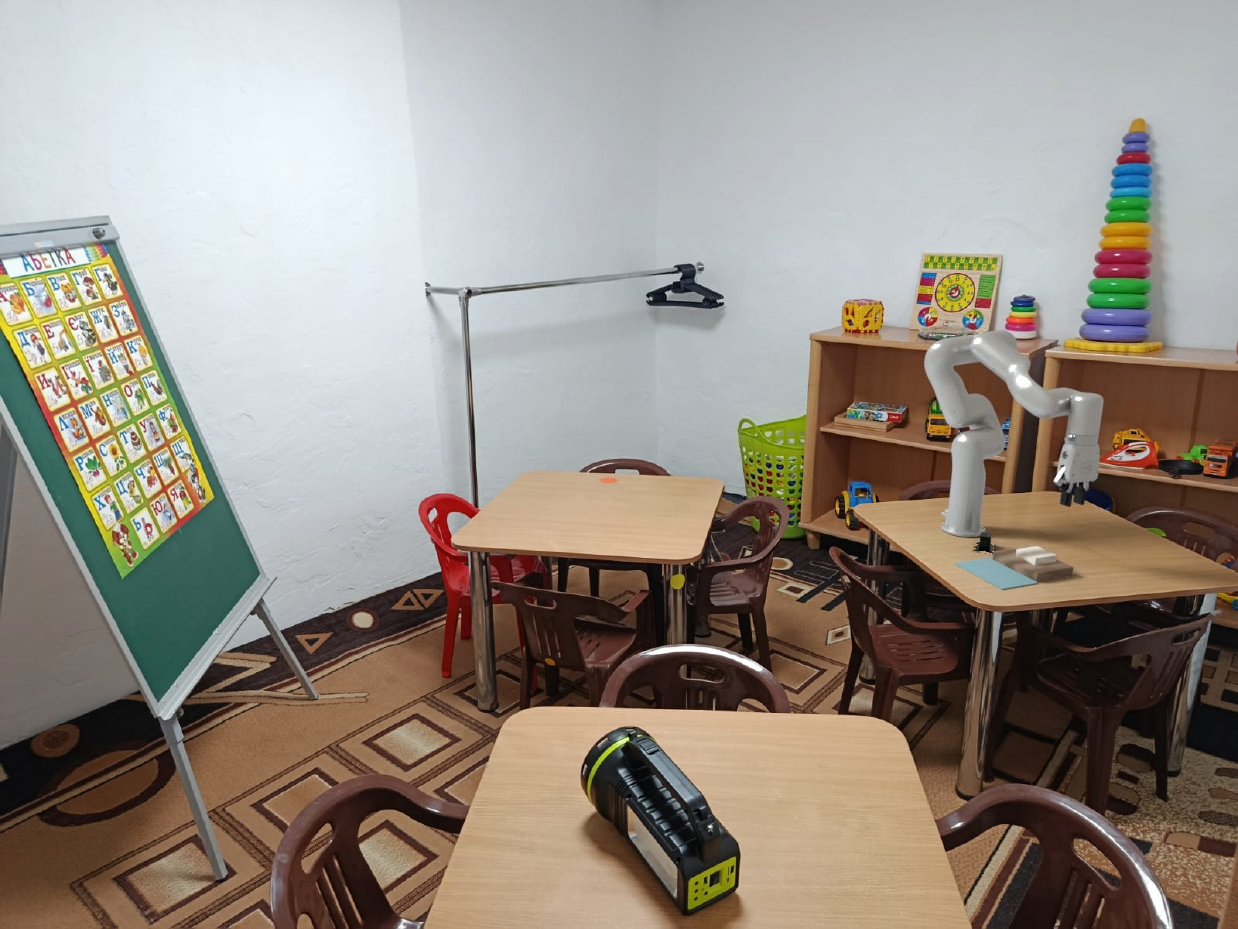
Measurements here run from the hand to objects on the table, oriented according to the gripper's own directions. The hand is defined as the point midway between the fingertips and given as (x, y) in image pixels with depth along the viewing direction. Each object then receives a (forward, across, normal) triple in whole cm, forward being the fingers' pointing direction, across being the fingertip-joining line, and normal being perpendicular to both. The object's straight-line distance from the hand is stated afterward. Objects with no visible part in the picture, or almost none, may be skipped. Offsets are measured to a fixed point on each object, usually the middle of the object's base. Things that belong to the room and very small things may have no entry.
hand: (1072, 503), depth 226 cm
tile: (+15, -10, 0) cm, 18 cm away
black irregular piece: (+18, -12, +16) cm, 27 cm away
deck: (+17, -11, 0) cm, 20 cm away
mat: (+17, -23, 0) cm, 29 cm away
